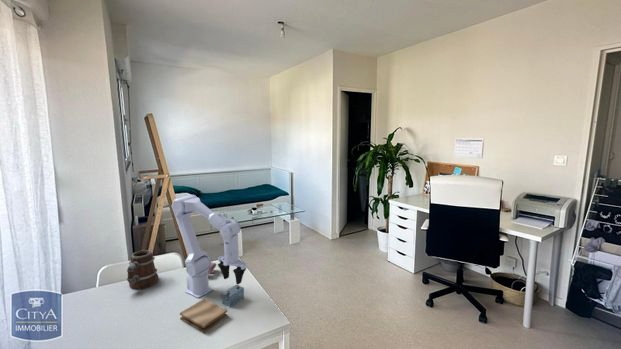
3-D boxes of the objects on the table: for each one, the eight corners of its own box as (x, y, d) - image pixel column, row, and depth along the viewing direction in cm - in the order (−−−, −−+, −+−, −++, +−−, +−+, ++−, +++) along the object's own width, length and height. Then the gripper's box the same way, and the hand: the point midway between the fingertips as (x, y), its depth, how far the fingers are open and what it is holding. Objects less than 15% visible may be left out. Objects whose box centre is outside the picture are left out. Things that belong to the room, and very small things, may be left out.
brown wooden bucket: (140, 276, 140) (137, 247, 138) (163, 277, 139) (161, 248, 137) (116, 294, 124) (113, 262, 122) (143, 295, 124) (140, 263, 121)
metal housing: (222, 304, 118) (221, 291, 117) (236, 295, 124) (236, 283, 123) (229, 307, 115) (229, 295, 114) (244, 298, 122) (243, 286, 121)
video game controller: (203, 282, 137) (209, 271, 136) (196, 277, 138) (201, 266, 136) (214, 272, 147) (219, 262, 145) (207, 268, 147) (212, 257, 146)
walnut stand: (180, 319, 107) (179, 312, 107) (204, 304, 117) (204, 298, 116) (203, 333, 100) (203, 326, 100) (227, 316, 109) (227, 309, 109)
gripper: (212, 249, 117) (213, 280, 119) (236, 258, 109) (237, 290, 111) (225, 244, 123) (226, 273, 125) (249, 251, 115) (250, 282, 117)
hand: (232, 280), depth 118 cm, fingers open, 7 cm apart
